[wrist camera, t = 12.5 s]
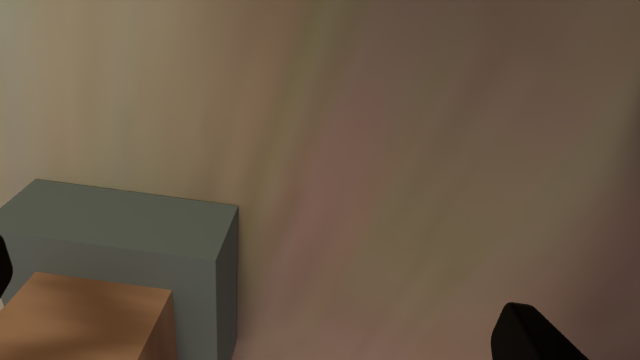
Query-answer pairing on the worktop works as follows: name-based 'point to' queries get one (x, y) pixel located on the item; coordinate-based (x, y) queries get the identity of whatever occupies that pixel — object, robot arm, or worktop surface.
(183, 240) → the slate block
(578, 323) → the worktop surface
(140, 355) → the terracotta cube
